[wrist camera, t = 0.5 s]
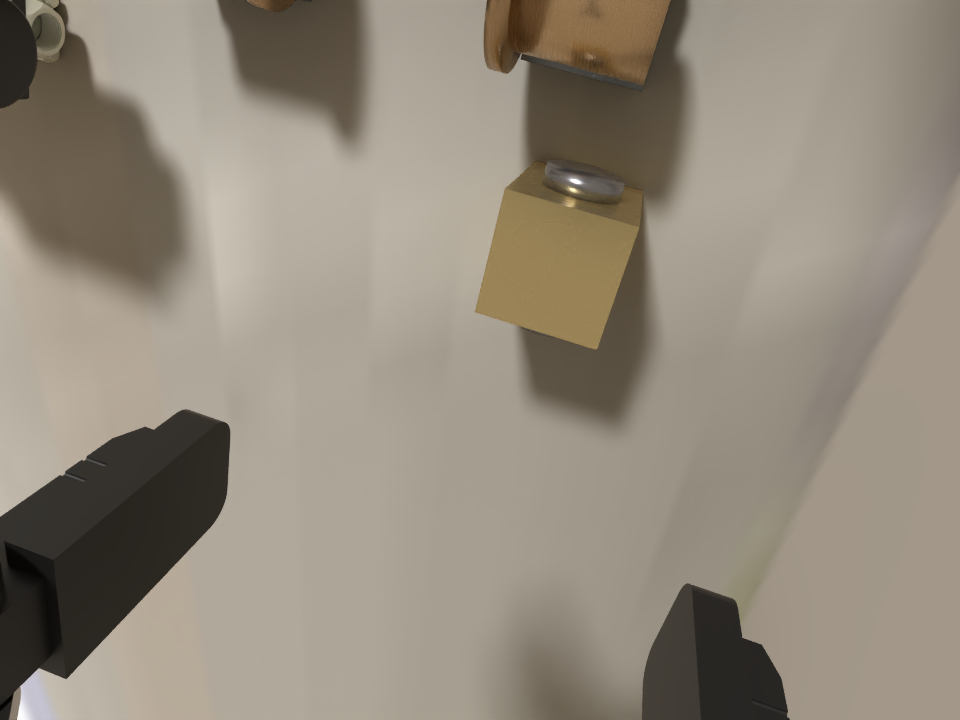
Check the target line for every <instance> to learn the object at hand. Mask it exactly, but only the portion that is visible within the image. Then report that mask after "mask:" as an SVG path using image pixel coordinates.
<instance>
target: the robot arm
mask: <svg viewBox="0 0 960 720" xmlns="http://www.w3.org/2000/svg"><path fill="white" fill-rule="evenodd" d="M229 449H230V428H229V425H228V424H227V423H225V422H222V421H219V420H217V419H214V418H211V417H208V416H205V415H202V414H199V413H196V412H193V411H190V410H186V409H185V410H181V411H179V412H178V413H176V414H175V415H173V416H172V417H171V418H169V419H168V420H167V421H165V422H164V423H163V424H161V425H160V426H158V427H157V428H156V429H154V430H153V429H150V428H147V427H143V428H140V429H138V430H135V431H132V432H129V433H126V434H124V435H121V436H118V437H115V438H112V439H111V440H110V441H108V442H107V443H105V444H104V445H102V446H101V447H99V448H98V449H97V450H95V451H94V452H92V453H91V454H89V455H88V456H87V458H86V460H85V461H83V460H81V461H79V462H78V463H77V464H75V465H74V466H72V467H71V468H69V469H68V470H67V471H65V474H64V475H63V476H61V475H59V476H58V477H57V478H55V479H54V480H52V481H51V482H49V483H48V484H47V485H45V486H44V487H42V488H41V489H39V490H38V491H37V492H35V493H34V494H32V495H31V496H29V497H28V498H27V499H25V500H24V501H22V502H21V503H19V504H18V505H17V506H15V507H14V508H12V509H11V510H9V511H8V512H7V513H5V514H4V515H2V516H1V517H0V720H17V716H18V710H19V705H20V699H21V689H20V686H21V685H22V684H23V683H24V682H25V681H26V680H27V679H28V678H29V677H30V676H31V675H32V674H33V673H34V672H35V671H36V670H37V669H38V668H40V669H43V670H45V671H48V672H50V673H52V674H55V675H57V676H60V677H62V678H65V679H67V678H68V677H69V676H70V675H71V674H72V673H73V672H74V670H75V669H76V668H77V667H78V666H79V665H80V664H81V663H82V662H83V661H84V660H85V659H86V658H87V657H88V656H89V655H90V654H91V653H92V652H93V650H94V649H95V648H96V647H97V646H98V645H99V644H100V643H101V642H102V641H103V640H104V639H105V638H106V637H107V636H108V635H109V634H110V633H111V632H112V630H113V629H114V628H115V627H116V626H117V625H118V624H119V623H120V622H121V621H122V620H123V619H124V618H125V617H126V616H127V615H128V614H129V613H130V612H131V610H132V609H133V608H134V607H135V606H136V605H137V604H138V603H139V602H140V601H141V600H142V599H143V598H144V597H145V596H146V595H147V594H148V593H149V591H150V590H151V589H152V588H153V587H154V586H155V585H156V584H157V583H158V582H159V581H160V580H161V579H162V578H163V577H164V576H165V575H166V574H167V573H168V571H169V570H170V569H171V568H172V567H173V566H174V565H175V564H176V563H177V562H178V561H179V560H180V559H181V558H182V557H183V556H184V555H185V554H186V553H187V551H188V550H189V549H190V548H191V547H192V546H193V545H194V544H195V543H196V542H197V541H198V540H199V539H200V538H201V537H202V536H203V535H204V534H205V532H206V531H207V530H208V529H209V528H210V527H211V526H212V525H213V524H214V522H215V521H216V519H217V518H218V516H219V514H220V512H221V510H222V508H223V505H224V503H225V499H226V495H227V485H228V467H229ZM787 712H788V710H787V704H786V699H785V694H784V689H783V685H782V680H781V677H780V675H779V673H778V672H777V670H776V669H775V667H774V665H773V663H772V662H771V660H770V658H769V656H768V655H767V653H766V651H765V649H764V648H763V646H762V645H761V644H758V643H755V642H752V641H749V640H747V639H744V638H742V633H741V626H740V619H739V613H738V607H737V604H736V602H735V600H734V599H732V598H729V597H726V596H723V595H720V594H717V593H714V592H711V591H709V590H706V589H703V588H700V587H697V586H694V585H691V584H685V585H684V586H683V587H682V589H681V590H680V592H679V594H678V596H677V598H676V600H675V602H674V604H673V606H672V608H671V610H670V612H669V613H668V615H667V617H666V619H665V621H664V623H663V625H662V627H661V629H660V631H659V633H658V635H657V637H656V639H655V641H654V643H653V645H652V647H651V650H650V653H649V656H648V659H647V663H646V667H645V672H644V679H643V702H642V720H790V719H789V718H787Z"/></svg>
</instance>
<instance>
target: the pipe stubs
mask: <svg viewBox="0 0 960 720" xmlns="http://www.w3.org/2000/svg"><path fill="white" fill-rule="evenodd" d="M246 1H247V2H248V3H250V4H251V5H253V6H255V7H259V8H262V9H266V10H270V11H274V12H280V11H283V10H285V9H287V8H289V7H290V6H291V5H292V4H293V3H294V2H295V1H296V0H246ZM304 1H310V2H311V0H304ZM670 2H671V0H487V6H486V14H485V25H484V56H485V62H486V65H487V67H488V68H489V69H491V70H494V71H498V72H502V73H506V74H507V73H509V72H510V71H511V70H512V69H513V68H514V66H515V64H516V63H517V61H518V59H519V57H520V54H521V53H522V56H521V60H525V61H529V62H533V63H537V64H540V65H544V66H548V67H552V68H556V69H559V70H563V71H567V72H571V73H575V74H578V75H582V76H586V77H590V78H593V79H597V80H601V81H605V82H609V83H612V84H616V85H620V86H624V87H628V88H631V89H635V90H639V91H642V89H643V86H644V83H645V80H646V77H647V74H648V71H649V68H650V65H651V61H652V58H653V55H654V52H655V49H656V46H657V43H658V39H659V36H660V33H661V30H662V27H663V24H664V21H665V17H666V14H667V11H668V8H669V5H670Z"/></svg>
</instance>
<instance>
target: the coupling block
mask: <svg viewBox="0 0 960 720" xmlns="http://www.w3.org/2000/svg"><path fill="white" fill-rule="evenodd" d="M625 184H626V181H625V180H624V179H623V178H621V177H620V176H618V175H616V174H614V173H611V172H609V171H606V170H603V169H600V168H597V167H594V166H591V165H587V164H583V163H579V162H574V161H568V160H561V159H550V160H548V161H547V164H545V163H542V162H538V161H536V162H534V163H533V164H532V165H531V166H530V167H529V168H528V169H527V170H525V171H524V172H523V173H522V174H521V175H520V176H519V177H518V178H516V179H515V180H514V181H513V182H512V183H511V184H510V185H508V186H507V187H506V188H505V191H504V195H503V199H502V203H501V207H500V211H499V215H498V219H497V224H496V228H495V232H494V236H493V240H492V244H491V248H490V252H489V256H488V261H487V265H486V269H485V273H484V277H483V281H482V285H481V289H480V293H479V298H478V302H477V306H476V310H475V312H476V313H479V314H483V315H486V316H489V317H492V318H495V319H499V320H502V321H505V322H508V323H511V324H515V325H518V326H520V327H522V328H524V329H526V330H528V331H531V332H533V333H536V334H540V335H544V336H549V337H556V338H559V339H563V340H566V341H569V342H572V343H575V344H579V345H582V346H585V347H588V348H591V349H595V350H597V348H598V345H599V342H600V339H601V337H602V334H603V331H604V328H605V325H606V322H607V319H608V317H609V314H610V311H611V308H612V305H613V302H614V299H615V297H616V294H617V291H618V288H619V285H620V282H621V279H622V276H623V274H624V271H625V268H626V265H627V262H628V259H629V256H630V254H631V251H632V248H633V245H634V242H635V239H636V236H637V234H638V231H639V228H640V219H641V209H642V199H643V191H641V190H638V189H634V188H631V187H627V186H625Z"/></svg>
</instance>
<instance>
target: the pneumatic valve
mask: <svg viewBox="0 0 960 720" xmlns="http://www.w3.org/2000/svg"><path fill="white" fill-rule="evenodd" d="M58 5H59V0H0V109H1V108H5V107H7V106H10V105H11V104H13V103H15V102H16V101H17V100H19V99H28V98H29V86H30V84H31V83H32V80H33V78H34V75H35V71H36V66H37V59H39V60H41V61H44V62H47V63H53V62H54V61H56V60H58V59H59V57H60V53H59V50H60V49H61V47H62V45H63V43H64V39H65V27H64V23H63V20H62V18H61V16H60V15H59V14H58V13H57V12H55V11H54V10H53V9H54V8H55V7H57V6H58Z"/></svg>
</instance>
